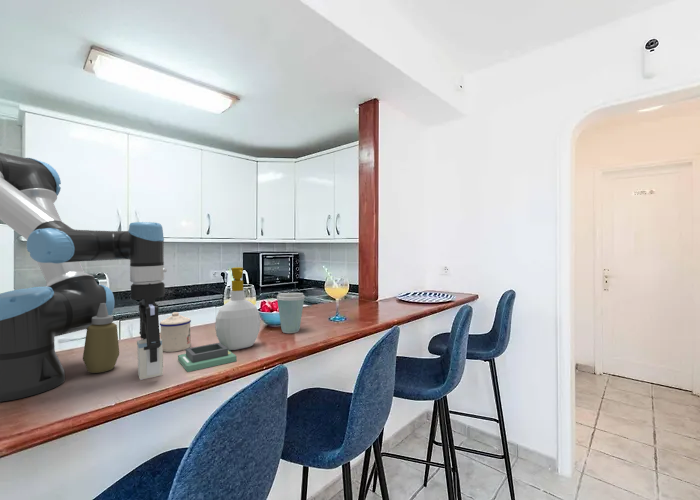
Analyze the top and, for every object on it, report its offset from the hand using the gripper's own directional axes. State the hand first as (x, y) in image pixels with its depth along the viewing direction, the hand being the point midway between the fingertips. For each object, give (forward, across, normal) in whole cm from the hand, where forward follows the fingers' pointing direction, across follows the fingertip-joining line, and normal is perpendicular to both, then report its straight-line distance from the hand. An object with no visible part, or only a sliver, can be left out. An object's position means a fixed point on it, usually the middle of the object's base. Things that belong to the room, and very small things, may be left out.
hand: (150, 368), depth 88 cm
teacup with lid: (+2, +23, -10) cm, 25 cm away
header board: (+2, +2, -14) cm, 15 cm away
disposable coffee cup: (+2, +16, -49) cm, 52 cm away
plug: (+2, 0, 0) cm, 2 cm away
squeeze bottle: (+2, +13, +10) cm, 16 cm away
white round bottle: (+2, +8, -26) cm, 27 cm away
